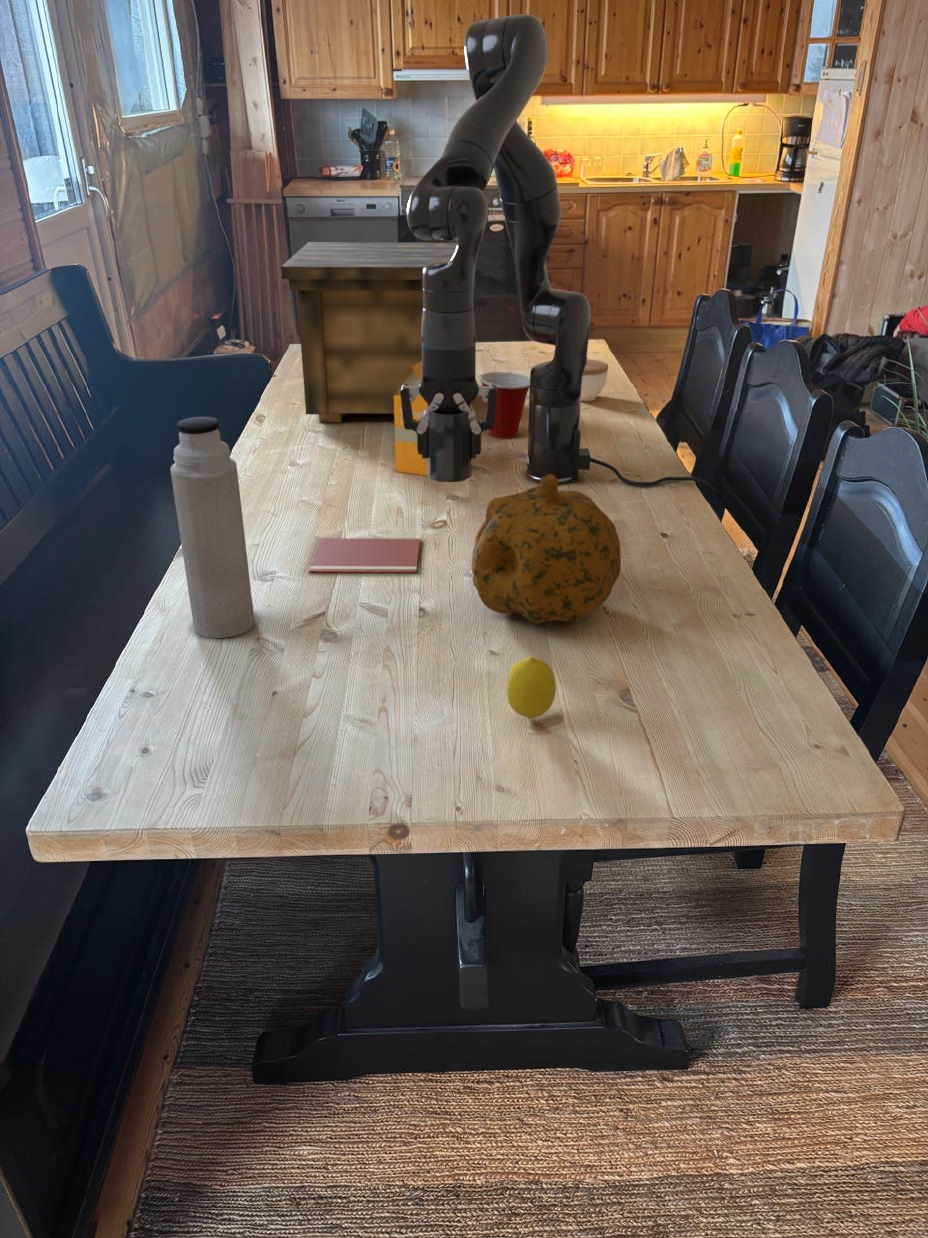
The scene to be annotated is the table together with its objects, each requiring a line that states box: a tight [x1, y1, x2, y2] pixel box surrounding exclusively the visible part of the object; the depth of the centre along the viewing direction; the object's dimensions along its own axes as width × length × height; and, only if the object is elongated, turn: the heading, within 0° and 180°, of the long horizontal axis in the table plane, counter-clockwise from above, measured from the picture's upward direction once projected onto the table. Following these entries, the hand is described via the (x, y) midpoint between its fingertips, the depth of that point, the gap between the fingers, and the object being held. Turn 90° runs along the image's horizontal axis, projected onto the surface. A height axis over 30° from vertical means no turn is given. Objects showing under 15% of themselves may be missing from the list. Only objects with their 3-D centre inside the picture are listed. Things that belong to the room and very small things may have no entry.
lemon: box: [505, 656, 557, 720], centre depth 110 cm, size 6×6×8 cm
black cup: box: [426, 405, 473, 483], centre depth 143 cm, size 6×6×10 cm
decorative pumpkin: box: [470, 474, 622, 625], centre depth 132 cm, size 20×21×20 cm
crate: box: [280, 241, 457, 423], centre depth 216 cm, size 35×35×33 cm
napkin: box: [308, 538, 421, 574], centre depth 151 cm, size 16×12×1 cm
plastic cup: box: [479, 371, 530, 439], centre depth 202 cm, size 11×11×12 cm
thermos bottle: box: [170, 416, 255, 639], centre depth 125 cm, size 8×8×28 cm
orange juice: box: [393, 361, 428, 477], centre depth 183 cm, size 8×9×20 cm
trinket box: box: [581, 356, 609, 402], centre depth 227 cm, size 11×11×9 cm
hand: (449, 456), depth 144 cm, fingers closed on black cup, 6 cm apart
